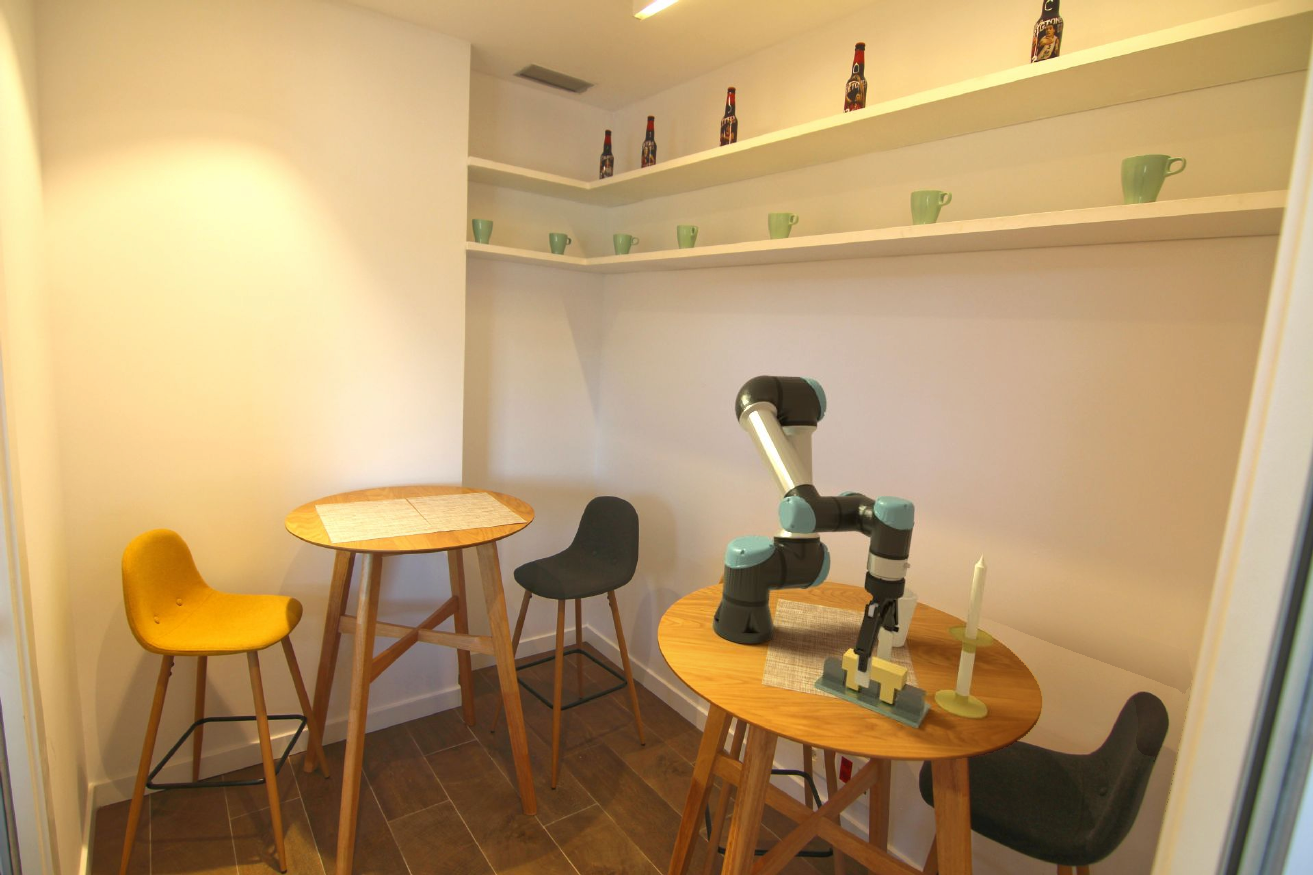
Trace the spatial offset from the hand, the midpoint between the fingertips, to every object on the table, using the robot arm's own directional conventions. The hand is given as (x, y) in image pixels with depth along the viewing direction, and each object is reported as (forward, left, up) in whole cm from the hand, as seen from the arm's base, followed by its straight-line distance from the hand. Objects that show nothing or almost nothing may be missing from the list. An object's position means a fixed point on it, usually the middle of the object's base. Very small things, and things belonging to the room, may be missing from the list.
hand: (872, 671), depth 127 cm
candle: (+15, +11, -6) cm, 20 cm away
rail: (0, 0, -6) cm, 6 cm away
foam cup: (-5, +30, -6) cm, 31 cm away
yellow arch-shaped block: (0, 0, -4) cm, 4 cm away
